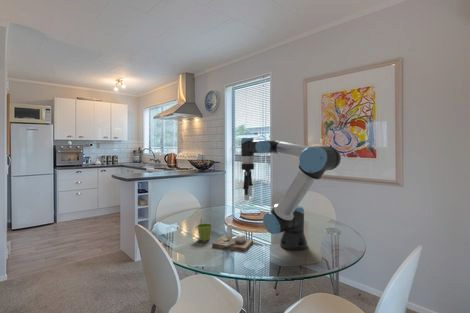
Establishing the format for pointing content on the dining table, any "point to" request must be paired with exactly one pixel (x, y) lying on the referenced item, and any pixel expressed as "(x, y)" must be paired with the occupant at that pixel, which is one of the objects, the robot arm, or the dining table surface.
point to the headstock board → (232, 244)
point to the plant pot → (204, 231)
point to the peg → (237, 238)
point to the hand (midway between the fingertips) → (248, 198)
